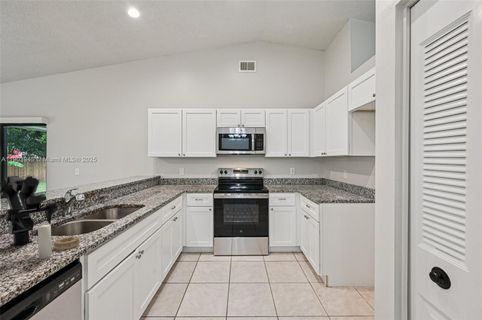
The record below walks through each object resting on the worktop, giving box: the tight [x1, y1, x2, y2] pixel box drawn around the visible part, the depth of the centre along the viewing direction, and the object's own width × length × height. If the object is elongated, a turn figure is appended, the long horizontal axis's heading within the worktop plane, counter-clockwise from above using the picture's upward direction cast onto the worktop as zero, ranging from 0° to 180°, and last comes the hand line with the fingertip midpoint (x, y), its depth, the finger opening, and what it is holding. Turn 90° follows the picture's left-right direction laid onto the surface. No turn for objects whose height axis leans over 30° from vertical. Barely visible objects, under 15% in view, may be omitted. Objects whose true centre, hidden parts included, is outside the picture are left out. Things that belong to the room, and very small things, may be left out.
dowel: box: [37, 224, 53, 260], centre depth 110 cm, size 4×4×14 cm
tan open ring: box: [53, 236, 80, 251], centre depth 124 cm, size 10×10×3 cm
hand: (38, 225), depth 114 cm, fingers open, 9 cm apart
